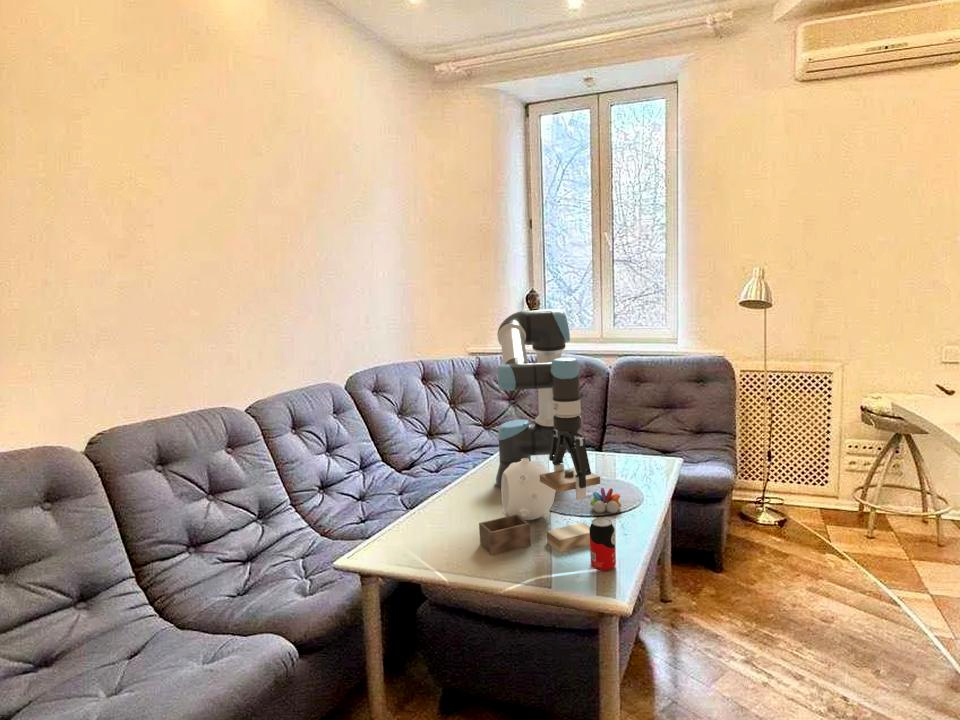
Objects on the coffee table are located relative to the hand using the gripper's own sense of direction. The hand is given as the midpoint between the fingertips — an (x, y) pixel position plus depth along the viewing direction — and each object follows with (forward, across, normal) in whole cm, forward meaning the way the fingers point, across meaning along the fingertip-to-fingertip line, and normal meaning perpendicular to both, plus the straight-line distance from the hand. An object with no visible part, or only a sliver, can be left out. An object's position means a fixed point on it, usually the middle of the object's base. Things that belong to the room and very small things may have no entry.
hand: (570, 492), depth 164 cm
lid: (-3, 0, 0) cm, 3 cm away
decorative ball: (+15, -22, -2) cm, 27 cm away
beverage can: (+15, +15, 0) cm, 21 cm away
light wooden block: (+15, 0, 0) cm, 15 cm away
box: (+15, -8, -17) cm, 24 cm away
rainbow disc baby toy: (+15, -17, +23) cm, 32 cm away
